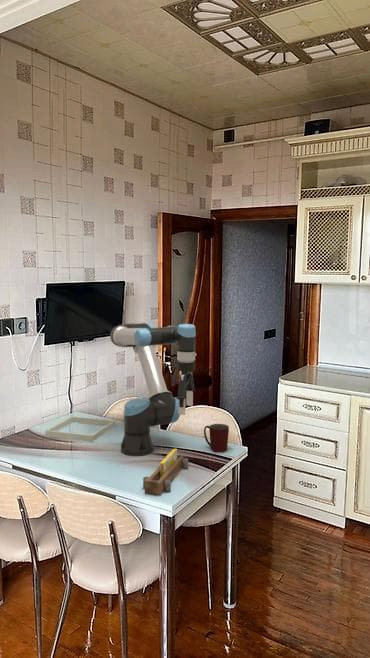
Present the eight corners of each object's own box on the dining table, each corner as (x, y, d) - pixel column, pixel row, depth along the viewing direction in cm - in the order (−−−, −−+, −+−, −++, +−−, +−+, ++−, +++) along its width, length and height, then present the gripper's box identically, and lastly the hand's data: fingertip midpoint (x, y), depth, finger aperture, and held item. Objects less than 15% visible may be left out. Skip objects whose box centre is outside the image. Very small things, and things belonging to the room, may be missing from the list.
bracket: (138, 492, 183) (138, 479, 183) (164, 464, 210) (164, 453, 210) (166, 496, 180) (166, 483, 180) (188, 467, 207) (188, 456, 207)
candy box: (173, 467, 208) (173, 448, 207) (178, 467, 207) (178, 448, 206) (159, 482, 193) (159, 462, 192) (164, 483, 192) (164, 462, 191)
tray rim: (45, 436, 246) (45, 430, 246) (72, 421, 271) (72, 416, 270) (92, 441, 239) (92, 435, 238) (115, 426, 263) (115, 420, 263)
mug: (199, 450, 228) (199, 426, 227) (208, 444, 235) (208, 421, 234) (223, 454, 222) (223, 430, 221) (231, 448, 230) (232, 425, 228)
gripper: (187, 367, 196) (187, 419, 199) (201, 356, 220) (200, 402, 223) (169, 366, 198) (169, 417, 201) (184, 355, 222) (184, 401, 225)
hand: (185, 409), depth 212 cm, fingers open, 13 cm apart
